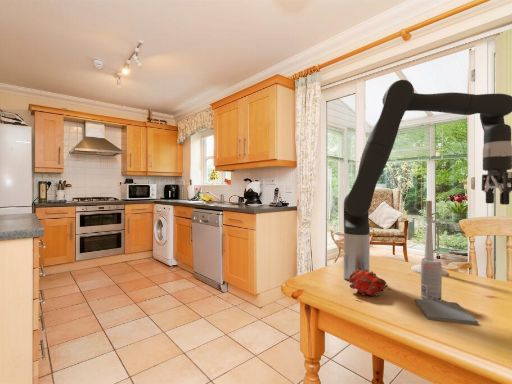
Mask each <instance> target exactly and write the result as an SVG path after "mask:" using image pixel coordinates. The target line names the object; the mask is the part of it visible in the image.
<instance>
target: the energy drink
mask: <svg viewBox="0 0 512 384" xmlns="http://www.w3.org/2000/svg"><path fill="white" fill-rule="evenodd" d="M420 264H421V274H420V297H421V298H422V299H424V300H434V301H443V300H442V294H443V293H442V291H443V289H442V288H443V287H442V278H443V276H442V268H443V267H442V265H443V264H442V262H441V260H439V259H436V258H434V259H430V258H424V257H423V258H421V261H420Z"/></svg>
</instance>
